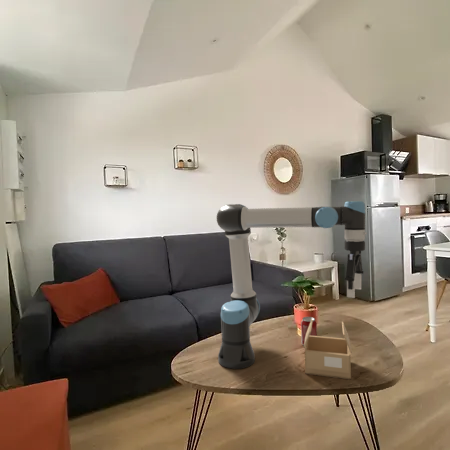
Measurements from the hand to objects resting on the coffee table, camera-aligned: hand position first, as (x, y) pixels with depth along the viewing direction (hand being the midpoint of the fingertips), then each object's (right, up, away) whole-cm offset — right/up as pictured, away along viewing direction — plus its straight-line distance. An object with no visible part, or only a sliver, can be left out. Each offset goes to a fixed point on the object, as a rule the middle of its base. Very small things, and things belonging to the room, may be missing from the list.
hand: (354, 293), depth 127 cm
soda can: (-14, -27, +17) cm, 35 cm away
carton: (-12, -28, -3) cm, 31 cm away
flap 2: (-6, -15, -6) cm, 17 cm away
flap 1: (-19, -15, -2) cm, 24 cm away
